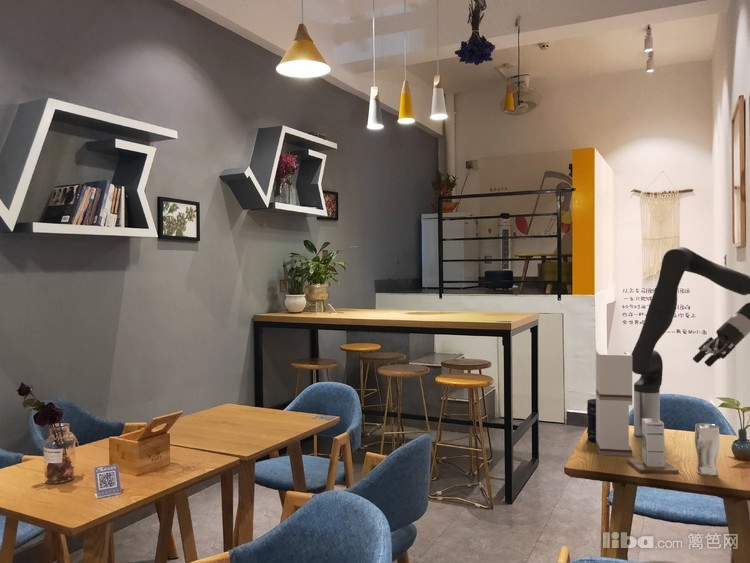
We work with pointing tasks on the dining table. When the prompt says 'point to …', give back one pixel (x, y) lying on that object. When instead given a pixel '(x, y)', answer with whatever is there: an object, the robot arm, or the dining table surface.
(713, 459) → the beer glass
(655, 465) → the syrup box
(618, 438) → the white stacked pillar
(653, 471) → the walnut board
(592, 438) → the storage jar
